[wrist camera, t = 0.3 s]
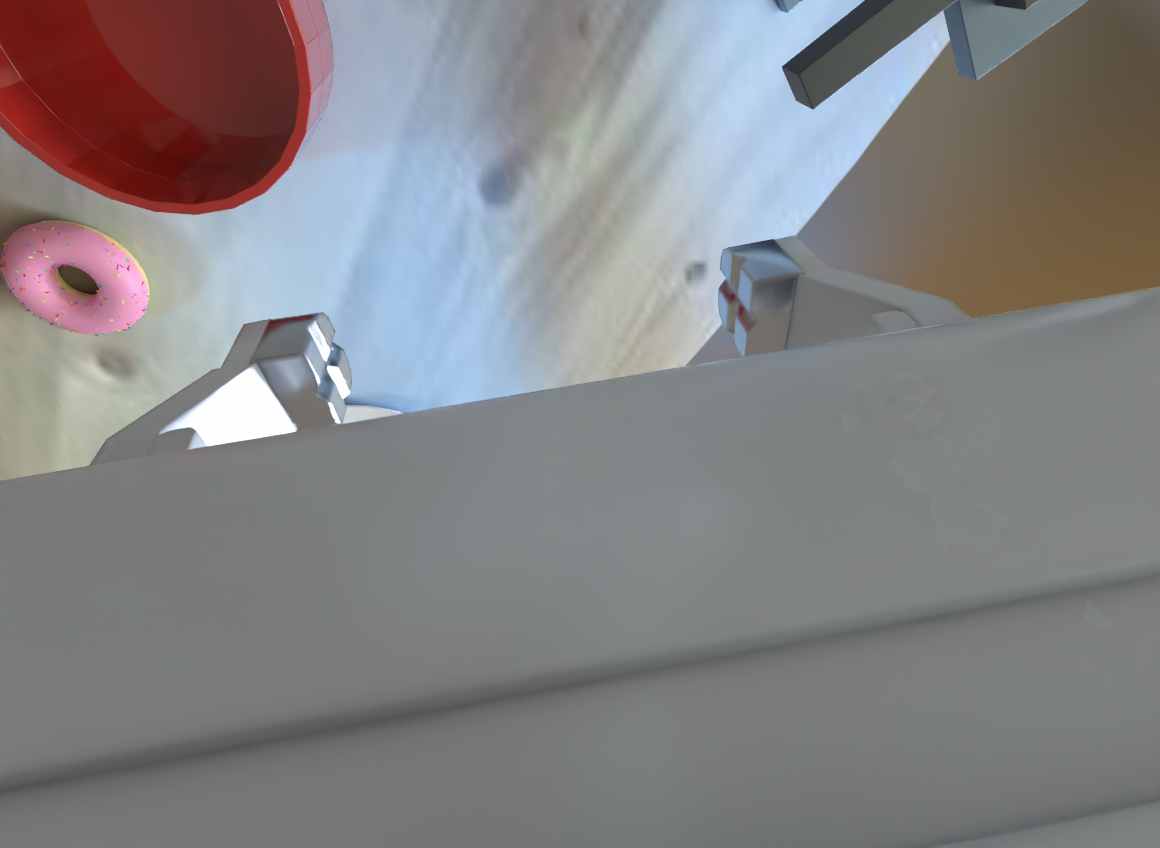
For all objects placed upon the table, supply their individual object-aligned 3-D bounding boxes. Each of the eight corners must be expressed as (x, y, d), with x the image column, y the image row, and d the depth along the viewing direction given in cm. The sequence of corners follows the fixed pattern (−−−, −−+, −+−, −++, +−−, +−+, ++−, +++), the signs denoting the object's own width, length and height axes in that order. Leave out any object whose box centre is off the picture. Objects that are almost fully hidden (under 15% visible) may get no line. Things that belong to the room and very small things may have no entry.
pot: (-81, -148, 38) (-216, -166, 30) (257, -196, 39) (209, -225, 31) (126, 191, 52) (70, 236, 45) (371, 150, 53) (356, 187, 45)
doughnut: (21, 189, 51) (-8, 206, 48) (168, 249, 56) (150, 268, 53) (10, 291, 56) (-16, 313, 53) (145, 338, 61) (128, 360, 58)
